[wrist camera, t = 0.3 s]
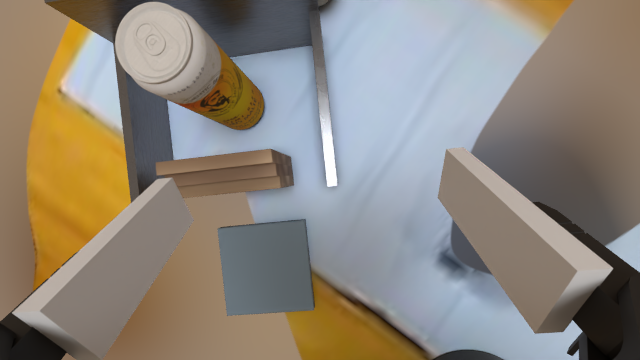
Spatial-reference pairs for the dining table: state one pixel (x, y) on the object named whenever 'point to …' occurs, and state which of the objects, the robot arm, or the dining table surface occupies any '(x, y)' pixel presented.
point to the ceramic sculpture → (322, 2)
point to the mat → (266, 268)
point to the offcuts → (229, 173)
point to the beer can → (185, 65)
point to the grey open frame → (232, 37)
